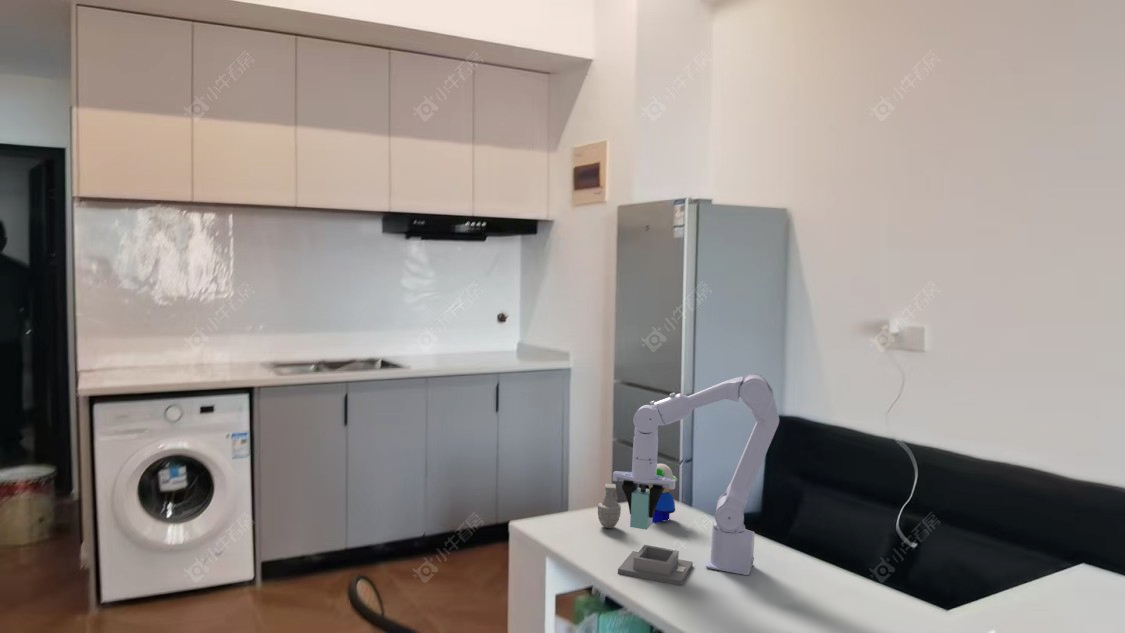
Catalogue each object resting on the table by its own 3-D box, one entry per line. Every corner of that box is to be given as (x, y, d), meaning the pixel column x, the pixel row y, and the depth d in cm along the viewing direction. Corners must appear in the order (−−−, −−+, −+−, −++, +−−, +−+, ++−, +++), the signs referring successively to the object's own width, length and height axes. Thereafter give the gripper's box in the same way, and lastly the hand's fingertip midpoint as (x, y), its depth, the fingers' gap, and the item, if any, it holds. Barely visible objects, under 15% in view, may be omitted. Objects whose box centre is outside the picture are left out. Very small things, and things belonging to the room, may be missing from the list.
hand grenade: (620, 532, 196) (622, 489, 195) (597, 530, 196) (599, 488, 195) (618, 523, 202) (621, 482, 201) (596, 522, 202) (598, 481, 201)
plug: (652, 523, 182) (654, 483, 182) (646, 529, 177) (649, 489, 177) (635, 520, 184) (638, 481, 183) (630, 526, 179) (632, 486, 178)
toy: (657, 511, 214) (660, 458, 213) (682, 520, 207) (685, 465, 206) (634, 517, 208) (637, 462, 207) (659, 526, 201) (663, 470, 200)
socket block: (692, 566, 175) (693, 551, 175) (681, 585, 164) (682, 569, 164) (632, 555, 180) (633, 540, 180) (617, 573, 169) (618, 557, 169)
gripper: (679, 457, 181) (676, 515, 181) (620, 449, 186) (617, 505, 187) (672, 464, 174) (669, 523, 175) (611, 456, 179) (608, 513, 180)
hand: (641, 514), depth 180 cm, fingers closed on plug, 4 cm apart
